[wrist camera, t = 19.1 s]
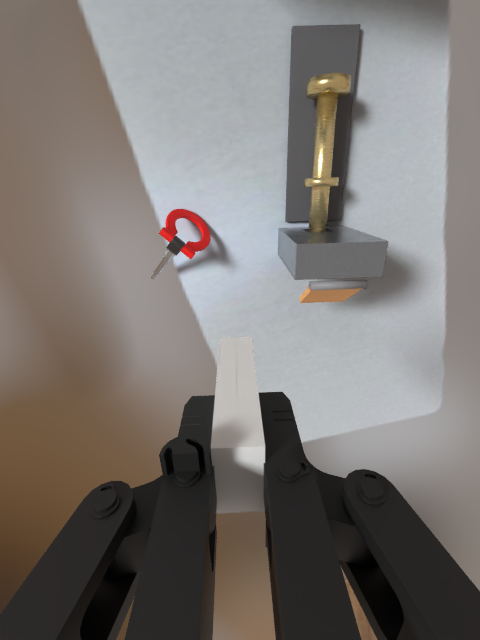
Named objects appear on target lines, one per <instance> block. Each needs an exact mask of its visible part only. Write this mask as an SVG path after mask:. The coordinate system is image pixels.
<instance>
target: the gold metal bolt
mask: <svg viewBox="0 0 480 640" xmlns="http://www.w3.org/2000/svg"><path fill="white" fill-rule="evenodd" d="M350 85H351V76H350V75H349V74H345V73H327V74H322V75H318V76H315V77H312V78H310V79H309V80H308V81H307V94H306V97H307V98H308V99H311V100H317V109H316V125H315V141H314V156H313V172H312V178H305V179H304V187H312V188H311V203H310V219H309V232H326V228H327V217H328V205H329V194H330V186H338V181H339V177H331V171H332V159H333V148H334V136H335V125H336V113H337V102H338V98H341V97H344V96H346V95H348V94H349V93H350Z"/></svg>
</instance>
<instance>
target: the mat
mask: <svg viewBox="0 0 480 640" xmlns="http://www.w3.org/2000/svg"><path fill="white" fill-rule="evenodd" d="M359 34H360V24H358V25H318V26H293V27H292V35H291V66H290V96H289V127H288V157H287V188H286V218H285V221H286V222H291V221H309V219H310V203H311V188H312V187H304V179H305V178H312V172H313V156H314V141H315V125H316V109H317V100H311V99H308V98H307V97H306V94H307V81H308V80H309V79H310V78H312V77H315V76H318V75H322V74H327V73H345V74H349V75H350V76H351V85H350V93H349V94H348V95H346V96H344V97H341V98H338V102H337V113H336V125H335V136H334V148H333V159H332V171H331V177H339V181H338V186H330V194H329V205H328V217H327V220H340V218H341V208H342V198H343V189H344V179H345V169H346V160H347V150H348V140H349V131H350V121H351V111H352V102H353V92H354V82H355V73H356V63H357V53H358V44H359Z"/></svg>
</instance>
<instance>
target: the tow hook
mask: <svg viewBox="0 0 480 640" xmlns="http://www.w3.org/2000/svg"><path fill="white" fill-rule="evenodd" d="M179 218H186V219H189V220H191V221H192V222H194V223H195V224H196V225H197V226H198V227H199V229H200V231H201V234H202V238H201V241H199V242H190V241H188V242H187V244H186V245H185V243H184V242H183V241H182V240H181V239H179V238H178V237H177V236H175V235H176V234H177V229H176V226H175V221H176V220H177V219H179ZM159 234H160V235H161V236H163V237H164V238H165V239H166V240H168V241H169V242H170V243H169V245H168V246H167V251H166V252H165V253H164V257H163V259H162V260H161V261H160V263H159V264H158V266H157V267H156V268H155V270H154V273H153V275H152V276H151V278H152V279H155V277H156V276H157V275H159V274H160V273H161V271H162V269H164V267H165V266H166V265H167V263H168V262H169V261H170V260H172V259H173V258H174V256H175V255H176V256H177V254H178V253H179V252H180V251H181V252H182V253H184V254H185V255H186V256H187V257H189V258H190V259H192V257H193V256H194V255H195V252H197V251H202V250H204V249H205V248H206V247H207V246H208V244H209V242H210V232H209V229H208V227H207V225H206V224H205V222H204V221H203V220H202V219H201V218H200V217H199V216H198V215H196V214H195V213H193V212H191V211H188V210H185V209H176V210H173V211H171V212H170V213H169V215H168V216H167V219H166V228H165V227H164V228H162V229H161V231H160V233H159Z"/></svg>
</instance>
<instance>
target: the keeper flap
mask: <svg viewBox="0 0 480 640" xmlns="http://www.w3.org/2000/svg"><path fill="white" fill-rule="evenodd" d="M366 288H367V280H344V281H314V282H310V283H309V286H308V288H307V289H306V290H305V291H304V293H303V294H302V295H301V296H300V303H312V302H342V301H345V300H346V299H348V298H349V297H351V296H352V295H354V294H355V293H357V292H358V291H360V290H361V289H366Z"/></svg>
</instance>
